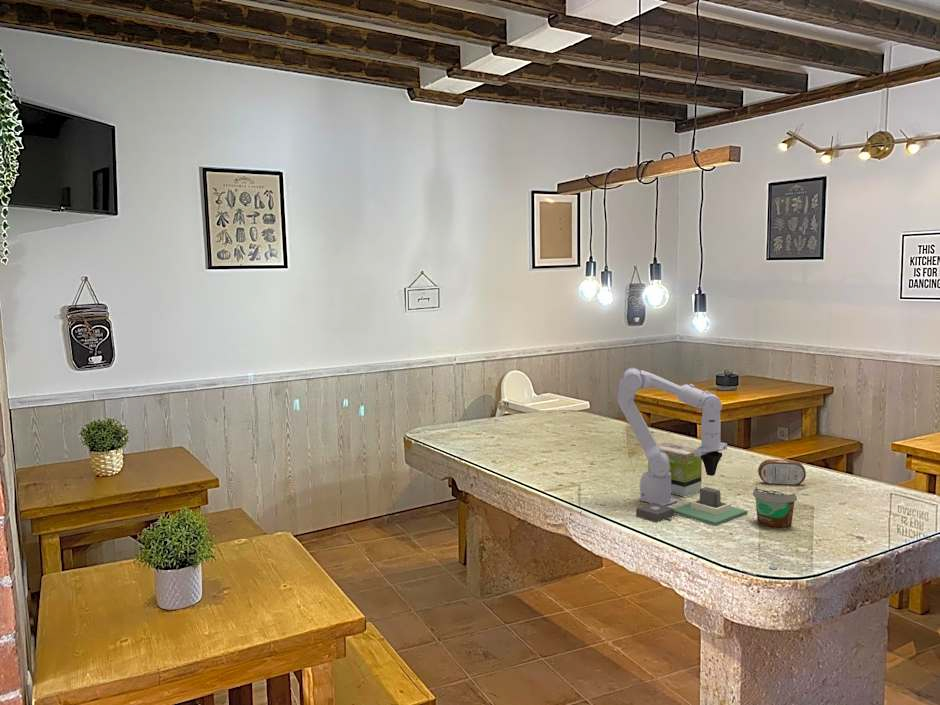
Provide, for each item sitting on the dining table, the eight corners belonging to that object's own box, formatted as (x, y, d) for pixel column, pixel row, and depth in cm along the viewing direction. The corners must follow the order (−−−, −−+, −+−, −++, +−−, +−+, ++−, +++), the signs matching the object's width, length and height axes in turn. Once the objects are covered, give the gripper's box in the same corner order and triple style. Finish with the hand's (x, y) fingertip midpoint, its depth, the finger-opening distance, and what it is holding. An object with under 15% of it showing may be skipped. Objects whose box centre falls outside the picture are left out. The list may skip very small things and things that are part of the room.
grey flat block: (636, 515, 224) (636, 507, 224) (653, 510, 229) (653, 502, 228) (662, 524, 216) (662, 515, 216) (680, 518, 221) (680, 509, 220)
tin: (804, 484, 251) (805, 460, 250) (806, 486, 248) (806, 462, 247) (757, 482, 255) (758, 458, 255) (758, 484, 252) (759, 460, 252)
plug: (699, 507, 226) (699, 488, 225) (705, 505, 228) (705, 487, 227) (715, 512, 221) (715, 492, 221) (721, 510, 223) (721, 491, 223)
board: (670, 512, 226) (670, 503, 226) (702, 501, 235) (702, 492, 235) (715, 525, 213) (715, 515, 213) (747, 513, 223) (747, 504, 222)
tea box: (647, 488, 251) (646, 446, 250) (664, 482, 258) (664, 441, 256) (685, 498, 240) (685, 453, 238) (702, 491, 246) (702, 448, 245)
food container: (745, 523, 214) (745, 490, 213) (754, 518, 219) (754, 485, 218) (787, 533, 206) (788, 498, 205) (796, 527, 210) (797, 493, 209)
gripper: (707, 438, 223) (707, 481, 224) (735, 431, 232) (735, 473, 233) (688, 434, 229) (688, 477, 230) (716, 427, 237) (716, 469, 239)
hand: (710, 475), depth 232 cm, fingers closed
